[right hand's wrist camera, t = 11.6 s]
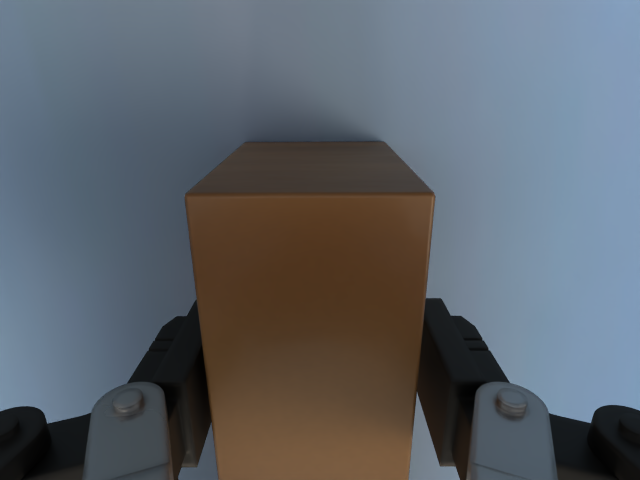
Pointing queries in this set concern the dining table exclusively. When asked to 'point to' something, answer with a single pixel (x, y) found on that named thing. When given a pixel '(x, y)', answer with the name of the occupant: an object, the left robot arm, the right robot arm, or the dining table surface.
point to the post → (311, 308)
